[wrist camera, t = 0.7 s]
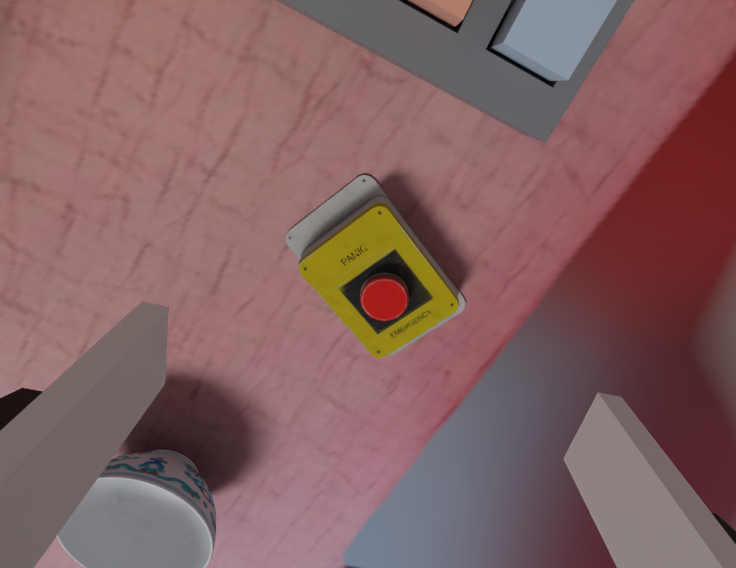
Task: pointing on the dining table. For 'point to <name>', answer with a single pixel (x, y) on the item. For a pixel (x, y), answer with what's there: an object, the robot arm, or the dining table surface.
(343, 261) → the emergency button
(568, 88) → the key panel
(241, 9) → the dining table surface
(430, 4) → the orange key
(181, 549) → the chinaware
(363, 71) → the dining table surface
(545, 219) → the dining table surface
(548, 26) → the blue key
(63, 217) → the dining table surface
